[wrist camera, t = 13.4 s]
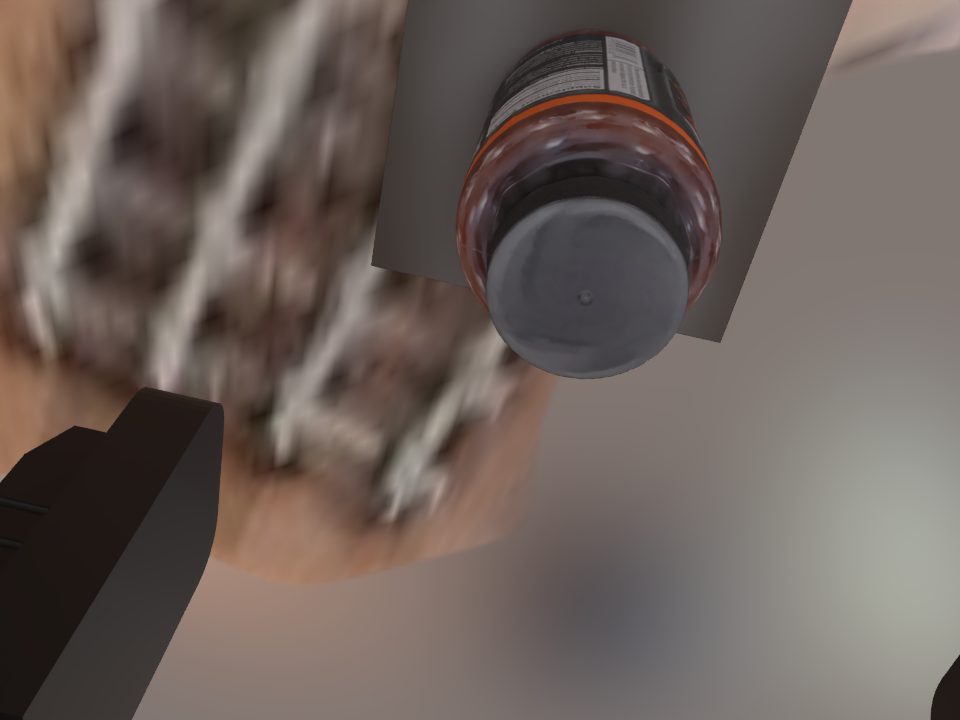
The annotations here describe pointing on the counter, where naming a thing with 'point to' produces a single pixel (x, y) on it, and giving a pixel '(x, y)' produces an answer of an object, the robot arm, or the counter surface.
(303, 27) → the counter surface
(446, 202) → the riser
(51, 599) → the robot arm
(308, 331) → the counter surface
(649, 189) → the supplement bottle
